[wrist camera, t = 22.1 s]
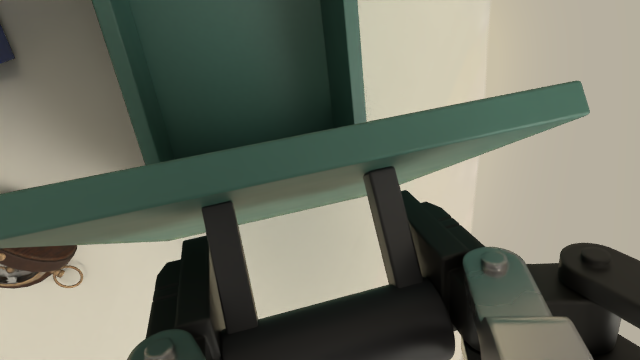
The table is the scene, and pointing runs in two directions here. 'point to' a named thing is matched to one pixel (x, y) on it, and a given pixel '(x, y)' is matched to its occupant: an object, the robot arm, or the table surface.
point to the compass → (34, 265)
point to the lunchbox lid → (292, 196)
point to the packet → (5, 48)
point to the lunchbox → (233, 70)
